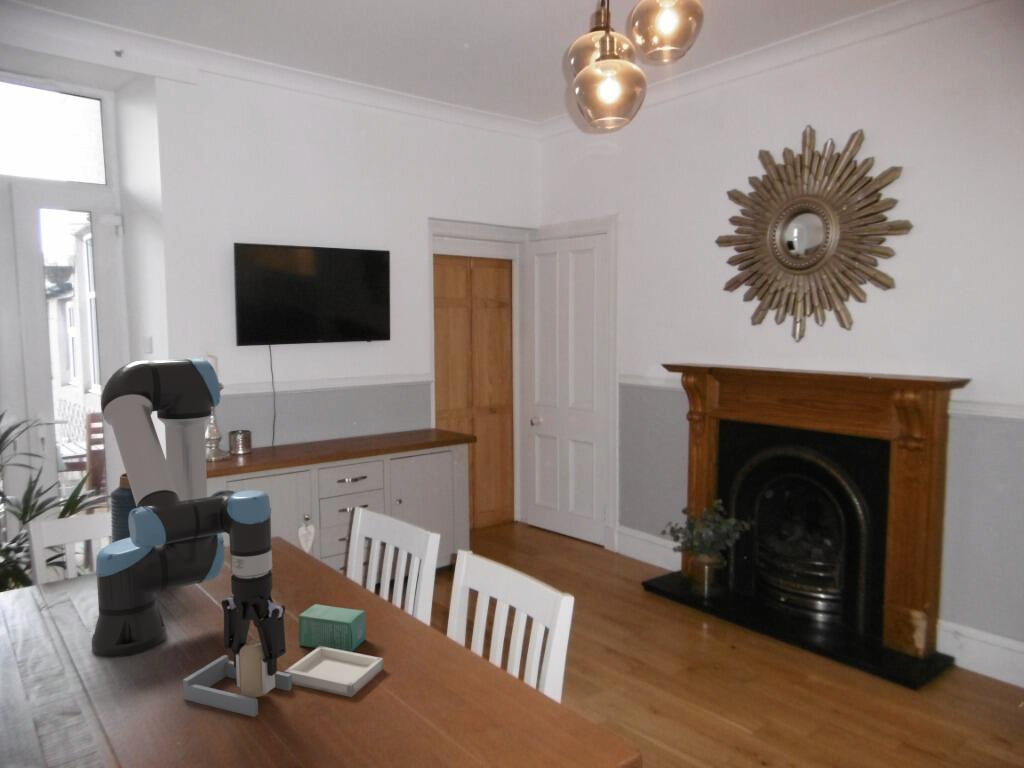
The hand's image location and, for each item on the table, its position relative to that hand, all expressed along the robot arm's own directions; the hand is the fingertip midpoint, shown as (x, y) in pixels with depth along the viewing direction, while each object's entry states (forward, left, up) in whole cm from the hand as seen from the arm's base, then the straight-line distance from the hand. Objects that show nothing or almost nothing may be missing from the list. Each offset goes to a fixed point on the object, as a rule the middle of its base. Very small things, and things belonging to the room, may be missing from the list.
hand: (256, 686), depth 141 cm
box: (0, +26, -3) cm, 26 cm away
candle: (0, 0, -1) cm, 1 cm away
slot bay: (-4, 0, -2) cm, 5 cm away
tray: (+9, +13, -2) cm, 16 cm away
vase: (-69, +36, -3) cm, 78 cm away
